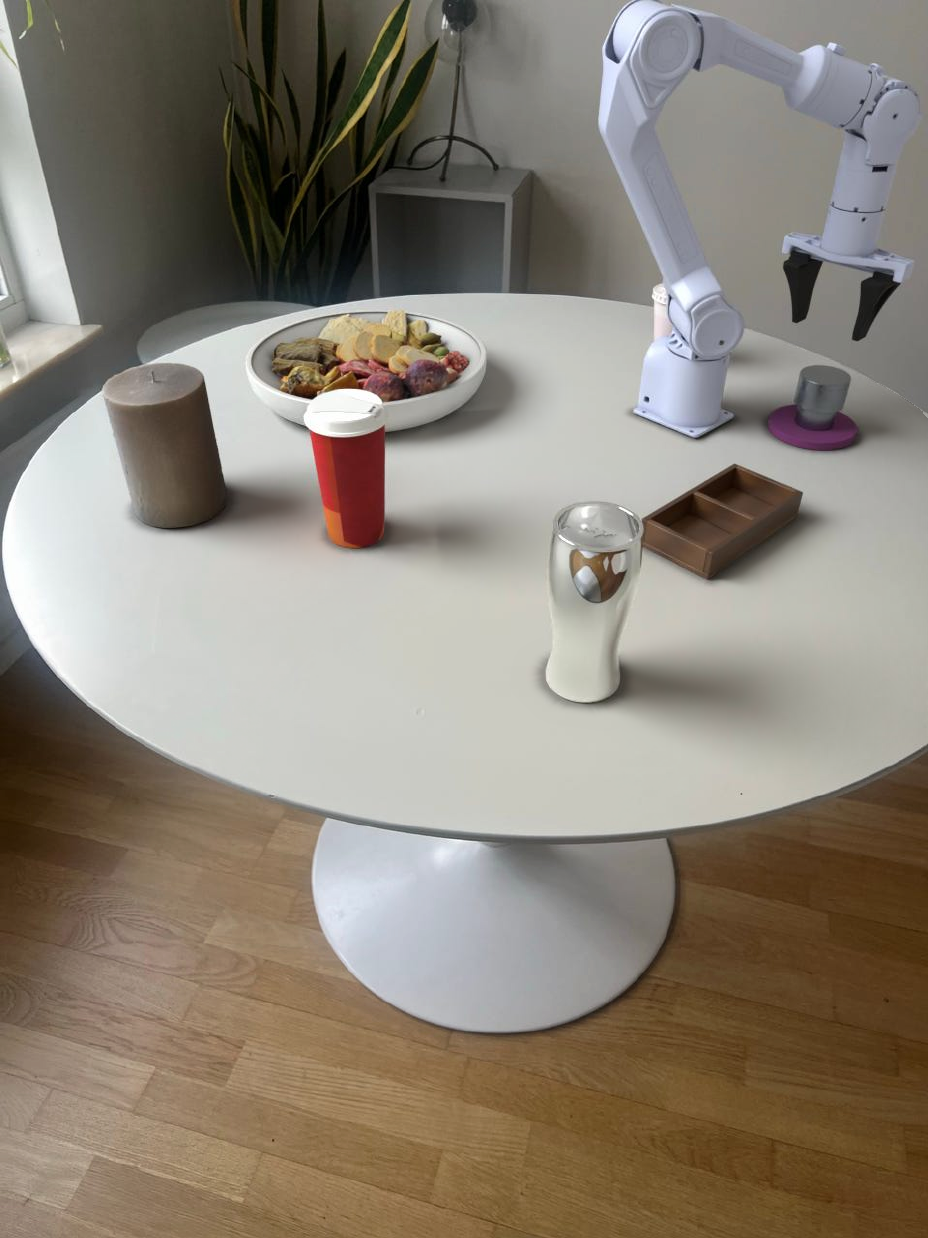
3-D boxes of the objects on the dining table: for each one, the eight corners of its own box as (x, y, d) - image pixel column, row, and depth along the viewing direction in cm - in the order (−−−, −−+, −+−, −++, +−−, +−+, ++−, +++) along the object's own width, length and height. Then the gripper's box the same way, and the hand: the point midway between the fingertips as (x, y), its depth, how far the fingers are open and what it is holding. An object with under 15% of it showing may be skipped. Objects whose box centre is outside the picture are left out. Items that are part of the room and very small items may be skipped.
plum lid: (751, 429, 111) (752, 422, 110) (795, 403, 116) (797, 396, 116) (827, 459, 105) (829, 451, 105) (870, 430, 111) (873, 423, 110)
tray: (638, 544, 92) (641, 518, 90) (729, 487, 101) (734, 462, 99) (707, 579, 87) (712, 553, 86) (797, 517, 96) (803, 491, 94)
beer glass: (534, 652, 79) (543, 501, 70) (615, 648, 80) (634, 497, 70) (546, 710, 74) (558, 553, 64) (633, 704, 74) (657, 548, 65)
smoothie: (691, 372, 124) (708, 265, 115) (642, 368, 125) (655, 262, 116) (691, 353, 129) (708, 249, 120) (645, 350, 130) (657, 246, 121)
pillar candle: (245, 504, 98) (222, 369, 89) (163, 541, 93) (129, 401, 83) (196, 471, 103) (169, 341, 94) (115, 504, 98) (78, 369, 89)
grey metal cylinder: (780, 423, 110) (791, 375, 106) (802, 407, 113) (814, 360, 110) (824, 438, 107) (837, 389, 103) (846, 421, 110) (859, 374, 107)
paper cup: (406, 520, 96) (400, 392, 87) (376, 560, 90) (367, 428, 81) (336, 506, 98) (324, 381, 89) (303, 545, 92) (286, 415, 83)
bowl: (206, 386, 121) (195, 327, 116) (387, 327, 136) (385, 272, 131) (345, 472, 103) (339, 406, 98) (534, 393, 119) (537, 333, 114)
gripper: (941, 211, 98) (904, 336, 106) (816, 185, 106) (791, 304, 115) (909, 225, 94) (873, 354, 103) (782, 198, 102) (759, 319, 111)
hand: (828, 329), depth 108 cm, fingers open, 7 cm apart
